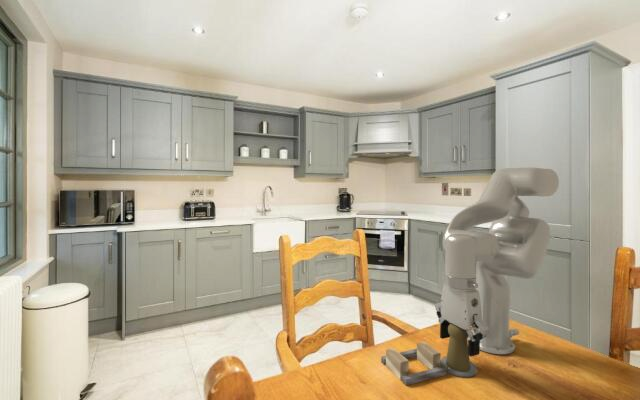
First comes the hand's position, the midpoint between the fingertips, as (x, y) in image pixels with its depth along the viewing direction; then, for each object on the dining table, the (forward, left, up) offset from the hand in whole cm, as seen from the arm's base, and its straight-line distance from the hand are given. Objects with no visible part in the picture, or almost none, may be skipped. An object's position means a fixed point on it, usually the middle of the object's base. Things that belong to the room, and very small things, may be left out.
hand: (458, 345), depth 84 cm
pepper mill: (0, 0, -5) cm, 5 cm away
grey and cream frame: (+12, -4, -6) cm, 13 cm away
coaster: (0, 0, -6) cm, 6 cm away
